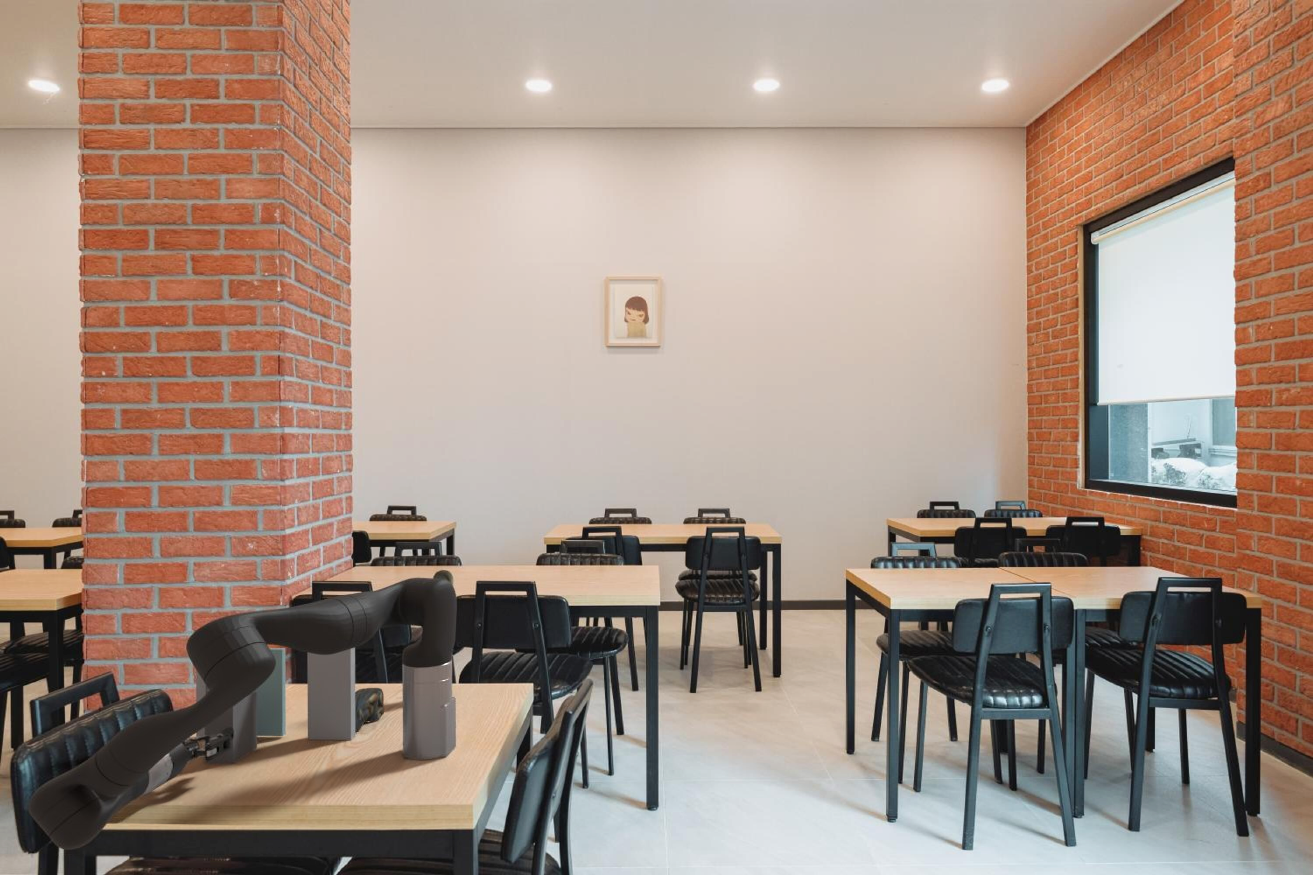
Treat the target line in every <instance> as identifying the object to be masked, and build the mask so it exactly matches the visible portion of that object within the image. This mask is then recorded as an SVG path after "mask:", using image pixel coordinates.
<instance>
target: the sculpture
mask: <svg viewBox="0 0 1313 875" xmlns="http://www.w3.org/2000/svg"><path fill="white" fill-rule="evenodd" d="M384 697H385V696H384V691H383V689H382V688H380V687H367V688H360V689H357V690H355V734H357V732H358V733H359V732H360V730H361V729H362V727H363V725H364V723H365V721H367V722H368V721H370V722H376V721H379V720H380V719H381V717H382V715H384V713H385V704H384V702H385V701H384V700H385V699H384Z"/></svg>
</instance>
